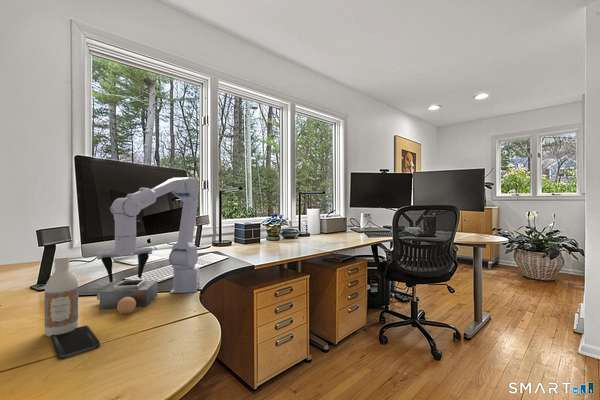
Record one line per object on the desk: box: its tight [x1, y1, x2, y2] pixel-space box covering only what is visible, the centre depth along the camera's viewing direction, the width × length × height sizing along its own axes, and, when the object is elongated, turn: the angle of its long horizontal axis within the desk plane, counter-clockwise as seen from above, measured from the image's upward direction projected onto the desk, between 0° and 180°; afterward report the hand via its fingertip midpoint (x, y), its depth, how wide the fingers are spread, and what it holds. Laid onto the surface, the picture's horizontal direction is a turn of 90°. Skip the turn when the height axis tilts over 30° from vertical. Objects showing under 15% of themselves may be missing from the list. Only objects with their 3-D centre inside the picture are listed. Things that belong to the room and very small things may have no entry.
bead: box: [116, 297, 137, 315], centre depth 88 cm, size 5×5×5 cm
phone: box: [50, 325, 101, 360], centre depth 70 cm, size 8×1×15 cm
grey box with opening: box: [96, 278, 158, 310], centre depth 98 cm, size 17×11×7 cm, turn 100°
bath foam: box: [44, 255, 79, 338], centre depth 76 cm, size 7×7×20 cm
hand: (125, 279), depth 89 cm, fingers open, 7 cm apart
